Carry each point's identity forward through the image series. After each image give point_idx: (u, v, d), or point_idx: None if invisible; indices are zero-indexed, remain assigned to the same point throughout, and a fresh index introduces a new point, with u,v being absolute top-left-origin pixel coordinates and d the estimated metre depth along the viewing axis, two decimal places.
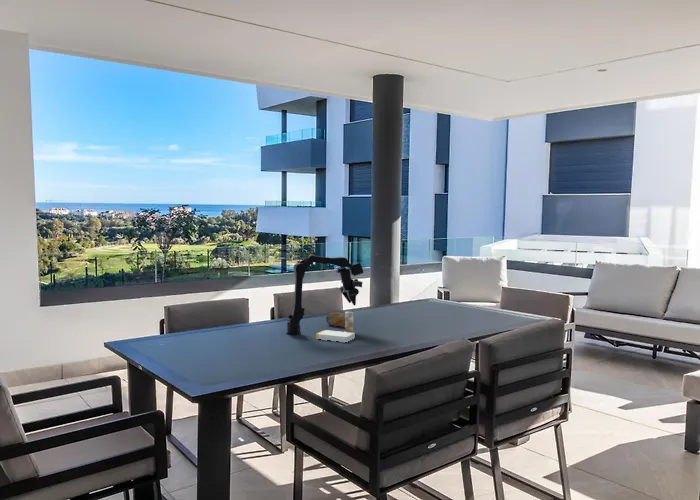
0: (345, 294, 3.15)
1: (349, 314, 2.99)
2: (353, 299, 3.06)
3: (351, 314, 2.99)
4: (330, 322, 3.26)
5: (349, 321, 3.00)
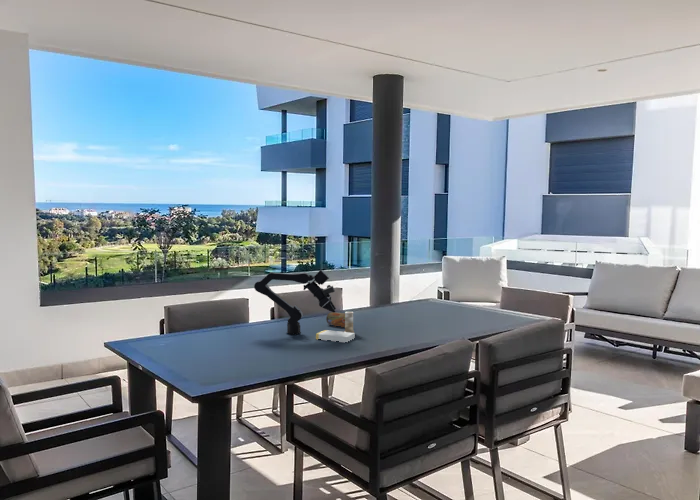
0: None
1: (349, 314, 2.99)
2: (329, 307, 2.96)
3: (351, 314, 2.99)
4: (330, 322, 3.26)
5: (349, 321, 3.00)
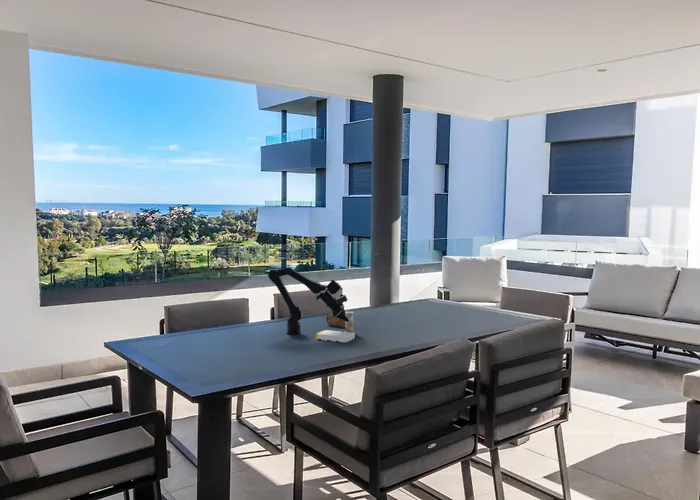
0: None
1: (349, 314, 2.99)
2: (343, 317, 2.96)
3: (351, 314, 2.99)
4: (330, 322, 3.26)
5: (349, 321, 3.00)
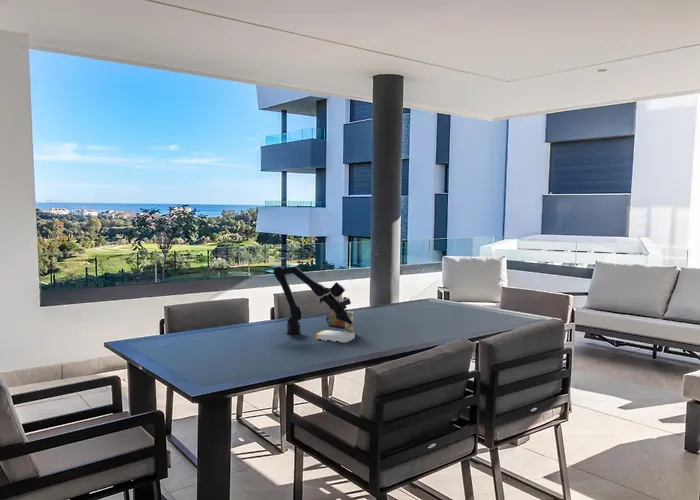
0: None
1: (349, 314, 2.99)
2: (346, 319, 2.98)
3: (351, 314, 2.99)
4: (330, 322, 3.26)
5: None
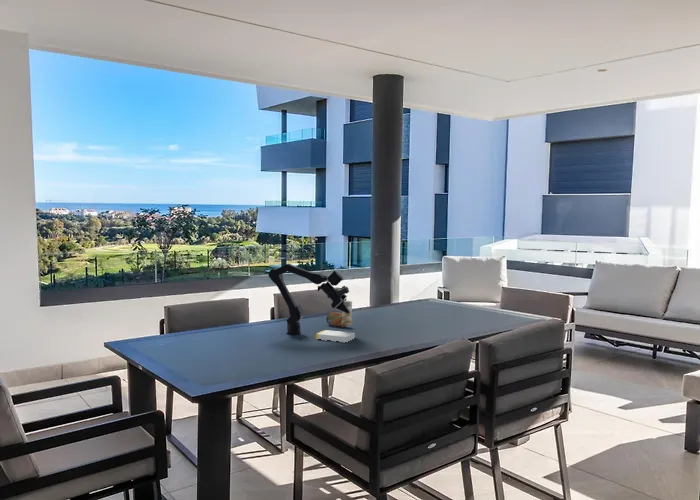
0: None
1: (346, 303, 2.94)
2: (343, 308, 2.93)
3: (348, 303, 2.94)
4: (330, 322, 3.26)
5: None
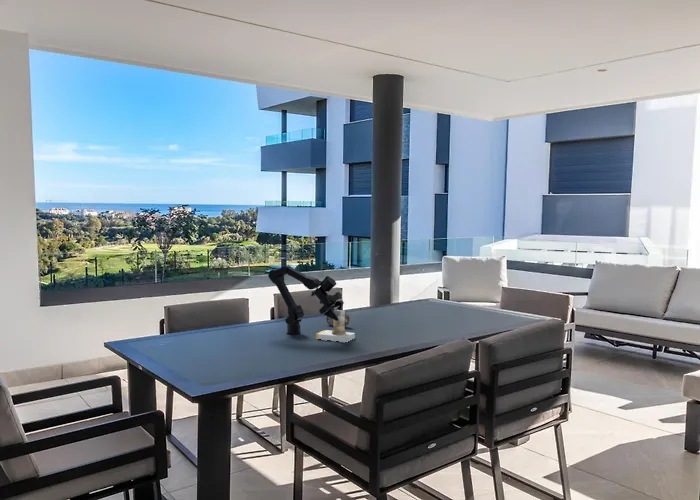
0: None
1: (336, 313, 2.87)
2: (332, 315, 2.85)
3: (339, 313, 2.86)
4: (330, 322, 3.26)
5: None
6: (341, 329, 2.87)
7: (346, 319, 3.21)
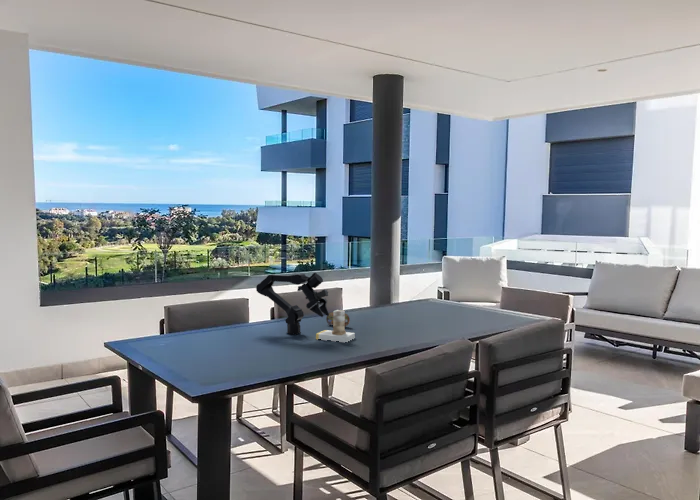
0: (321, 308, 3.00)
1: (336, 313, 2.87)
2: (317, 311, 2.89)
3: (339, 313, 2.86)
4: (330, 322, 3.26)
5: (337, 319, 2.87)
6: (341, 329, 2.87)
7: (346, 319, 3.21)
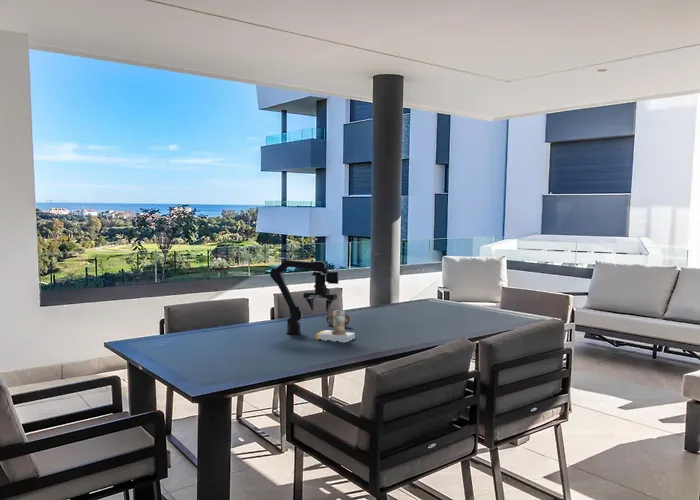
0: (310, 301, 3.01)
1: (336, 313, 2.87)
2: (329, 305, 2.98)
3: (339, 313, 2.86)
4: (330, 322, 3.26)
5: (337, 319, 2.87)
6: (341, 329, 2.87)
7: (346, 319, 3.21)
